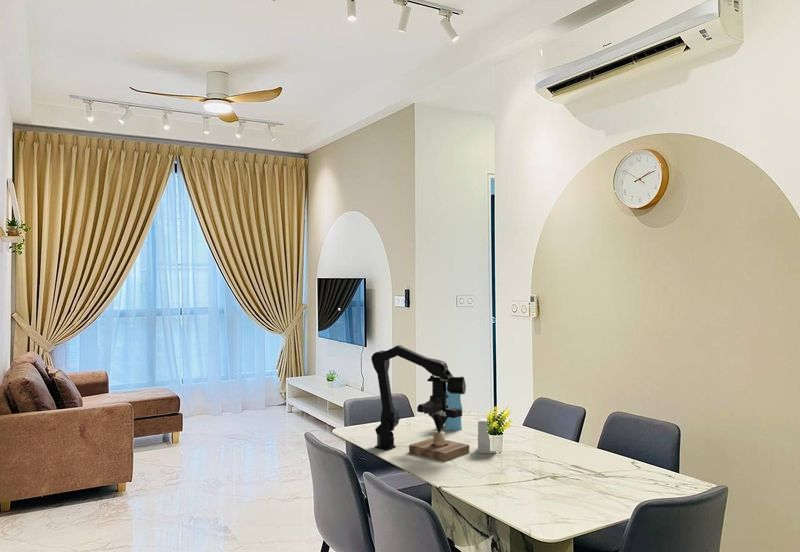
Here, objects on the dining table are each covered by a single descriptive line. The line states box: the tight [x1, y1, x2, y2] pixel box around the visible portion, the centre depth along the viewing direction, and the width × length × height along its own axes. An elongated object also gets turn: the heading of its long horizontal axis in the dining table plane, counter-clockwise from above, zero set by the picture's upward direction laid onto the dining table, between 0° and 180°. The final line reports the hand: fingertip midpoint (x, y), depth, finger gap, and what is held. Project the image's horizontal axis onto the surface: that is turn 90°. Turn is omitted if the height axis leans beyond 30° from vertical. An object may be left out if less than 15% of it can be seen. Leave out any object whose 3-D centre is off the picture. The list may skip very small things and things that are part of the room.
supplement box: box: [477, 417, 497, 454], centre depth 245 cm, size 7×7×13 cm
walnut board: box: [408, 437, 470, 462], centre depth 242 cm, size 18×16×3 cm
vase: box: [443, 391, 463, 431], centre depth 283 cm, size 8×8×20 cm
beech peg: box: [432, 430, 446, 448], centre depth 242 cm, size 5×5×8 cm
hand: (439, 432), depth 242 cm, fingers closed
